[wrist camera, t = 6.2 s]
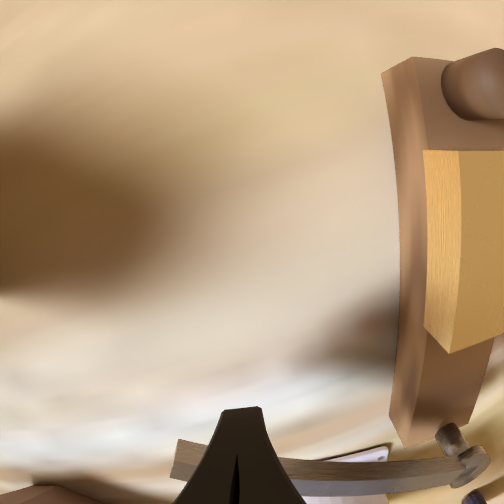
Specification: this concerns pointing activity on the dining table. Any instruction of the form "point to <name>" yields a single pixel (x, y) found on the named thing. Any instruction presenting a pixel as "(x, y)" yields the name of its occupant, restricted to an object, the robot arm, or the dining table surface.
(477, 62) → the body
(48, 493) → the brown round pot
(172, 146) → the dining table surface
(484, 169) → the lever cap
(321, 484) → the lever
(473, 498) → the flask
